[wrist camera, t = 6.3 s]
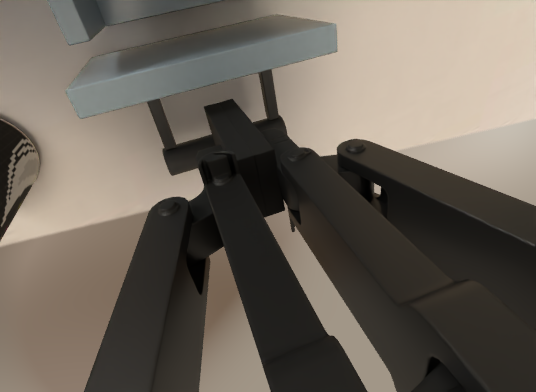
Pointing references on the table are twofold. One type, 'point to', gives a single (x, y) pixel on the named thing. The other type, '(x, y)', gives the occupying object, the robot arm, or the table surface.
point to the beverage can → (15, 171)
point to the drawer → (183, 62)
